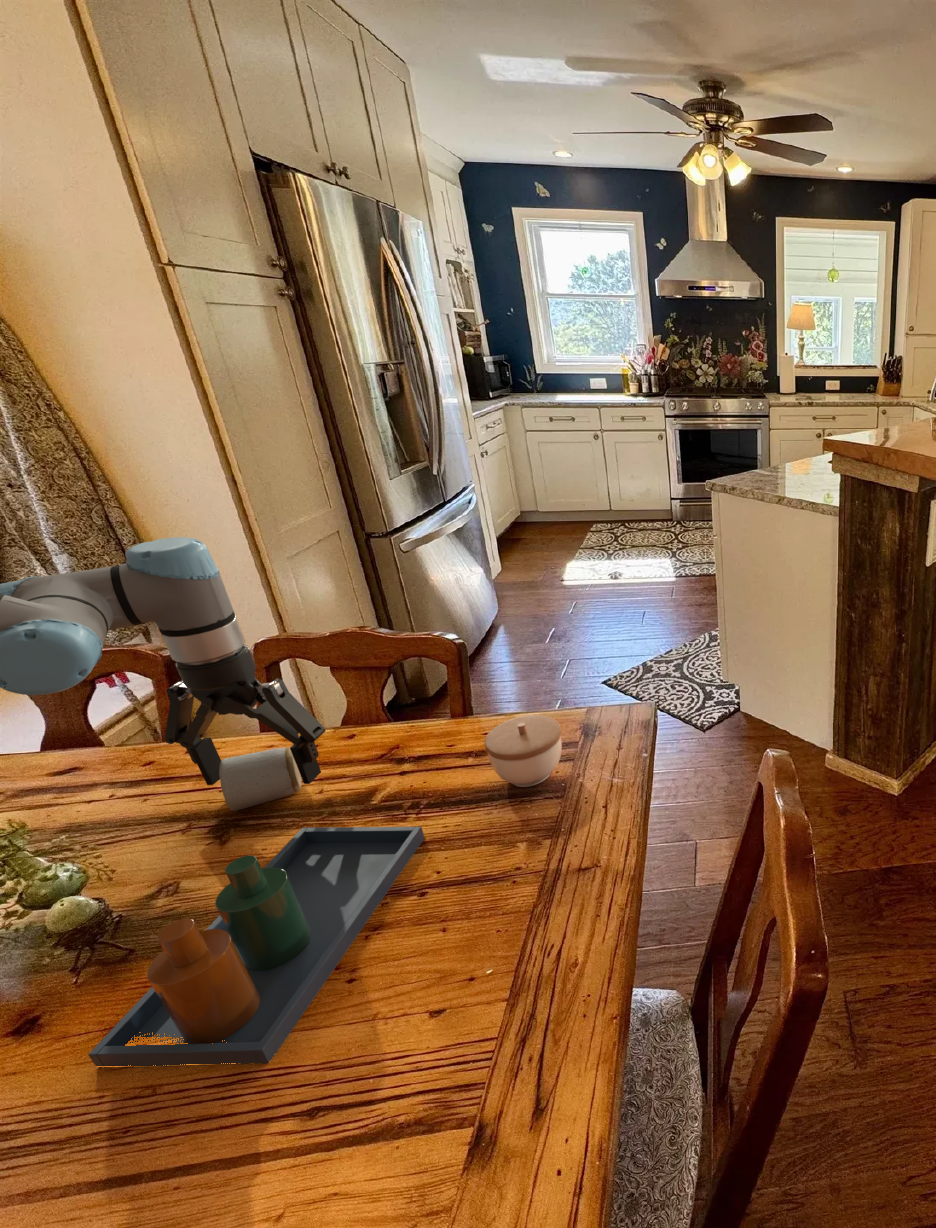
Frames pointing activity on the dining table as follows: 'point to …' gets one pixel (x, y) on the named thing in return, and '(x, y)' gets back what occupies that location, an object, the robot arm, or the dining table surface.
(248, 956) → the green bottle
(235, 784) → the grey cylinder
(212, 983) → the amber bottle
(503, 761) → the trinket box
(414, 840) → the tray
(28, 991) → the dining table surface
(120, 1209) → the dining table surface
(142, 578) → the robot arm
